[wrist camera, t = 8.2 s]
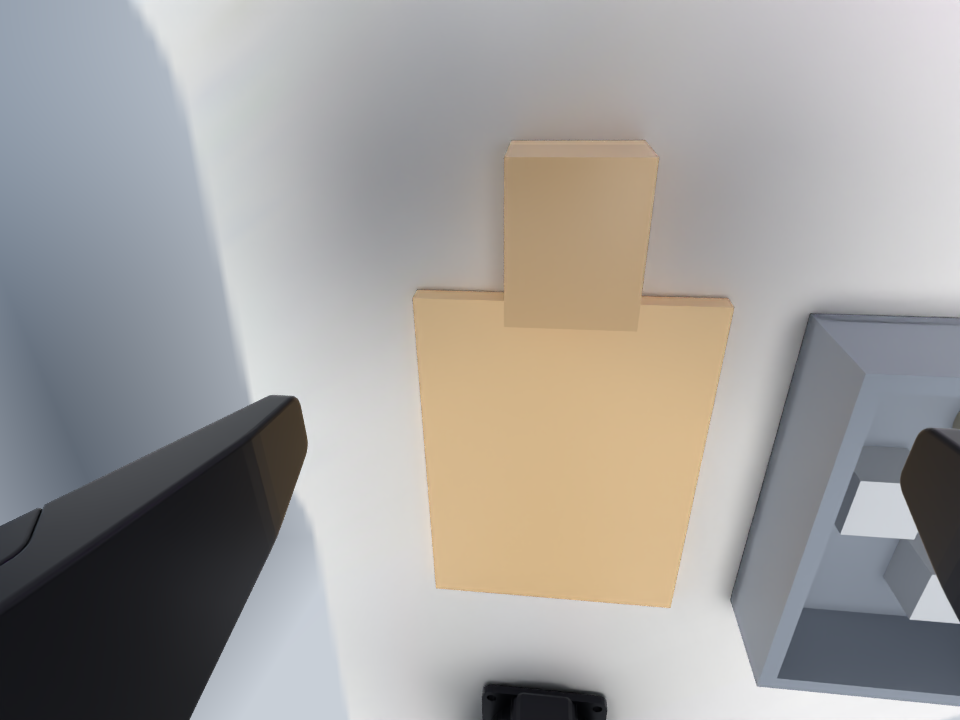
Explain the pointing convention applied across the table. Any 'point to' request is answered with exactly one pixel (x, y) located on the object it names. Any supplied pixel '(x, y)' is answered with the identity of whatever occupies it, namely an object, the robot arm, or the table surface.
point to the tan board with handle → (567, 391)
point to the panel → (853, 519)
